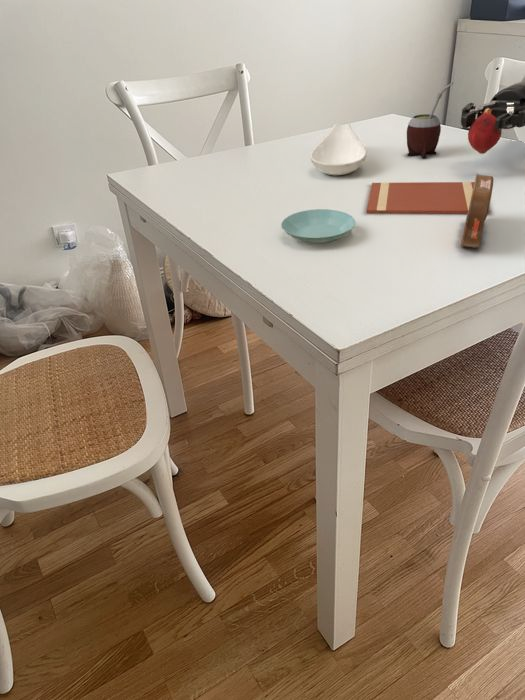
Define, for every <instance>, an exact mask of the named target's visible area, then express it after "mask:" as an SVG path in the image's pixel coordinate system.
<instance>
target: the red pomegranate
mask: <svg viewBox="0 0 525 700" xmlns="http://www.w3.org/2000/svg"><path fill="white" fill-rule="evenodd" d="M491 111H492V110H491V109H489V108H488V109H485V111H484V113H483V114H482V115H481V116H479V117H478V118H477V117H476V120H475V121H474V122H473V123H472V124H471V126H470V127H468V132H467V140H468V142H469V145H470V146H471V147H472V149H473V150H474V151H476V152H477V153H479V155H484V154H486V153H487V152H488V151H490V150H491V149H492V148H494V147H495V146H496V145H497V144H498V142H499V141H500V140H501V136H502V133H503V132H502V130H503V129H501V130H499V131H496V130H495V122H496V117H495V116H493V115H492V114H491Z"/></svg>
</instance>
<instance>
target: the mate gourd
mask: <svg viewBox="0 0 525 700" xmlns="http://www.w3.org/2000/svg"><path fill="white" fill-rule="evenodd" d="M453 84H454V81H452V82H451V83H449V84H448V85H446V86H445V87H443V88H442V89H441V90H440V92H438V93H437V96H436V100H435V102H434V105H433V107H432V108H431V112H430V114H429V113H427V114H426V113H423V114H416V115H414V116H412V117H411V119H410V120H409V122H408V124H407V128H406V146H407V149H408V150H407V151H408V153H407V154H406V155H407V157H420V158H421V159H422V160H426V159H427V156H432V155H433V156H434V155H437V151H436V149H437V148H438V144H439V141H440V137H441V132H442V130H441V129H442V126H441V121H440V119H439V117H438V116H437V115H435V112H436V108H437V106H438V104H439V101H440V100H441V98H442V96H443V94H444V93H445V91H447V90H448V89H449V88H450V87H451V86H452V85H453Z"/></svg>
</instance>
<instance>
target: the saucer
mask: <svg viewBox="0 0 525 700" xmlns="http://www.w3.org/2000/svg"><path fill="white" fill-rule="evenodd" d="M280 225H281V229H282V230H283V231H284V232H285V233H286V234H287V235H289V236H290V237H292V238H294V239H296V240H297V241H300V242H303V243H308V244H326V243H331V242H333V241H336V240H339V239H340V238H343V237H344V236H345V235H346V234H348V233H349V232H350V231H351V230H352V229H353V228H355V225H356V219H355V217H353V215H351V214H349V213H347V212H344V211H341V210H337V209H329V208H328V209H327V208H323V209H322V208H318V209H317V208H315V209H307V210H302V211H297V212H294V213H292V214H290V215H288V216H287V217H285V218H283V220H282V221H281V224H280Z"/></svg>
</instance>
